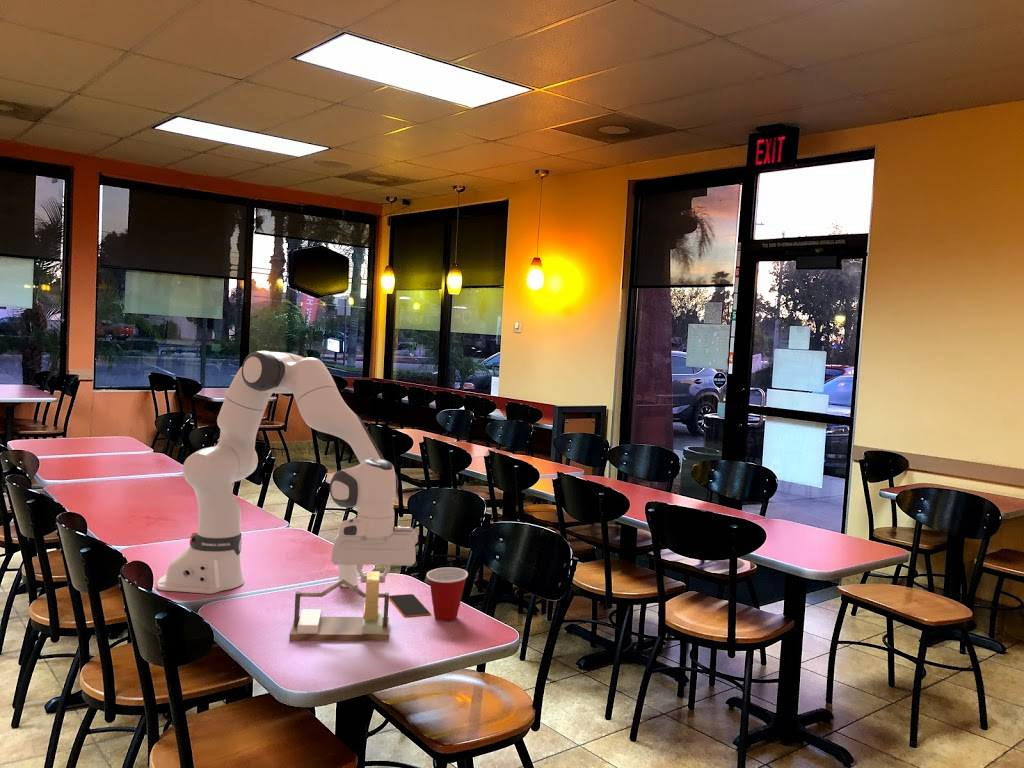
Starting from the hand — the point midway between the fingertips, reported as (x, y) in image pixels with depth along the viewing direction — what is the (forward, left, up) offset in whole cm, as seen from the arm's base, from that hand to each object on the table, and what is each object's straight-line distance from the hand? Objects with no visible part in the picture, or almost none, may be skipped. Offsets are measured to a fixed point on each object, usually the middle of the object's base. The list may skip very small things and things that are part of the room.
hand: (372, 582), depth 198 cm
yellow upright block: (0, 0, -8) cm, 8 cm away
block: (-15, 0, -11) cm, 18 cm away
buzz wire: (-7, 0, -12) cm, 14 cm away
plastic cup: (+19, +10, -13) cm, 25 cm away
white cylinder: (-7, +36, -13) cm, 39 cm away
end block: (0, 0, -11) cm, 11 cm away
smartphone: (+10, +19, -13) cm, 25 cm away
